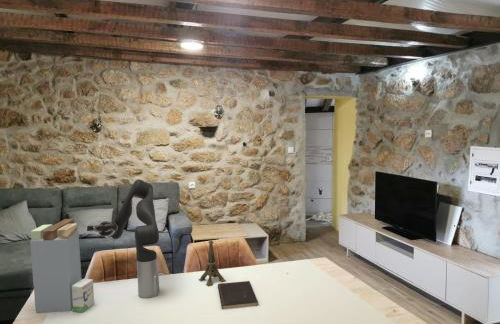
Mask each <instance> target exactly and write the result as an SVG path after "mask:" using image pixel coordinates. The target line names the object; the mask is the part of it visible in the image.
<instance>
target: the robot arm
mask: <svg viewBox="0 0 500 324" xmlns="http://www.w3.org/2000/svg"><path fill="white" fill-rule="evenodd" d="M131 185H132V186H131V187H130V188H129V192H128V193H127V195H126V197H125V199H124V201H123V204H122V206H121V208H120V209H119V211H118V212H117V214H115V216H114V219H113V221H114V222H112V221H102V222H100V223H99V224H94V225H87V226H86V232H94V233H95V232H97V233H98V234H99V235H100V236H103V237H111V238H112V239H114V240H118V239H120V238H121V236H123V233H124V229H125V227H126V226H125V225H126V224H127V222H129V220H130V218H131V216H132V213H133V205H132V204H133V198H134V197H138V198H140V199H141V200H139V201H138V202H137V204H136V206H135V213H136V217H137V219H138V220H139V221H140V222H141V223H143V224H144V225H137V226H136V227H134V241H135V250H136V254H135V255H136V272H137V293H138V294H137V295H138V297H140V298H143V299H144V298H145V299H147V298H152V297H157V296H158V294H159V292H160V277H159V271H158V259H157V258H158V257H157V252H156V251H155V250H153V249H149V248H147V247H144V246H150V245H155V244H158V243H159V239H160V234H159V233H160V231H159V227H158V223H157V220H156V219H157V218H156V213H155V212H156V210H155V205H154V187H153V185H152V184H150V183H148V182H146V181H144V180H141V179H136V180H135V181H134V182H133V183H132V184H131Z"/></svg>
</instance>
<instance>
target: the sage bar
mask: <svg viewBox="0 0 500 324" xmlns="http://www.w3.org/2000/svg"><path fill="white" fill-rule="evenodd" d="M52 226H53V224H50V223H49V224H42V225H40V226H38V227H36V228H34V229H33V230H30V238H31V239H30V241H31V240H42V239H43V231H44V230H46V229H48V228H50V227H52Z"/></svg>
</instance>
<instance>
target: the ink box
mask: <svg viewBox="0 0 500 324" xmlns="http://www.w3.org/2000/svg"><path fill="white" fill-rule="evenodd" d="M94 291H95V290H94V279H91V278H82V280H80V281H79V282H77V283H76V284H74V285H73V286H72V299H73V310H72V312H74V313H84V312H85V311H87V310H88V309H89V308H91V306H94V304H95V292H94Z"/></svg>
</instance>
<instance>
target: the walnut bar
mask: <svg viewBox="0 0 500 324" xmlns="http://www.w3.org/2000/svg"><path fill="white" fill-rule="evenodd" d="M67 224H75V220H74V218H65V219H63V220H61V221H59V222H58V223H55V224H52V227H50V228H48V229H46V230H44V231H43V241H44V240H54V239H56V238H57V237H58V235H57V230H58V229H60V228H62V227H63V226H65V225H67Z"/></svg>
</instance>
